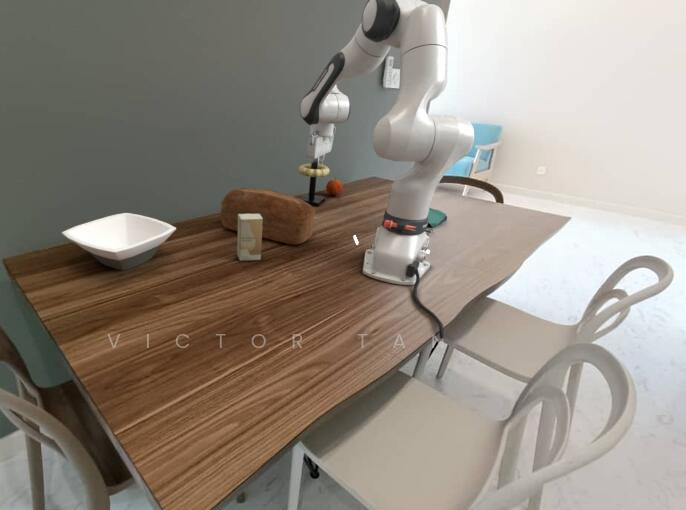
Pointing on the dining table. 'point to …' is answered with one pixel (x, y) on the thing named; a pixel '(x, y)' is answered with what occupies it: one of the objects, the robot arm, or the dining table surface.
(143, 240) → the bowl
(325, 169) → the pale yellow segmented ring
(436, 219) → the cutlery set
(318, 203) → the peg stand
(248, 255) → the cosmetic box
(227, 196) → the bread
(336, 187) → the fruit
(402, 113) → the robot arm
